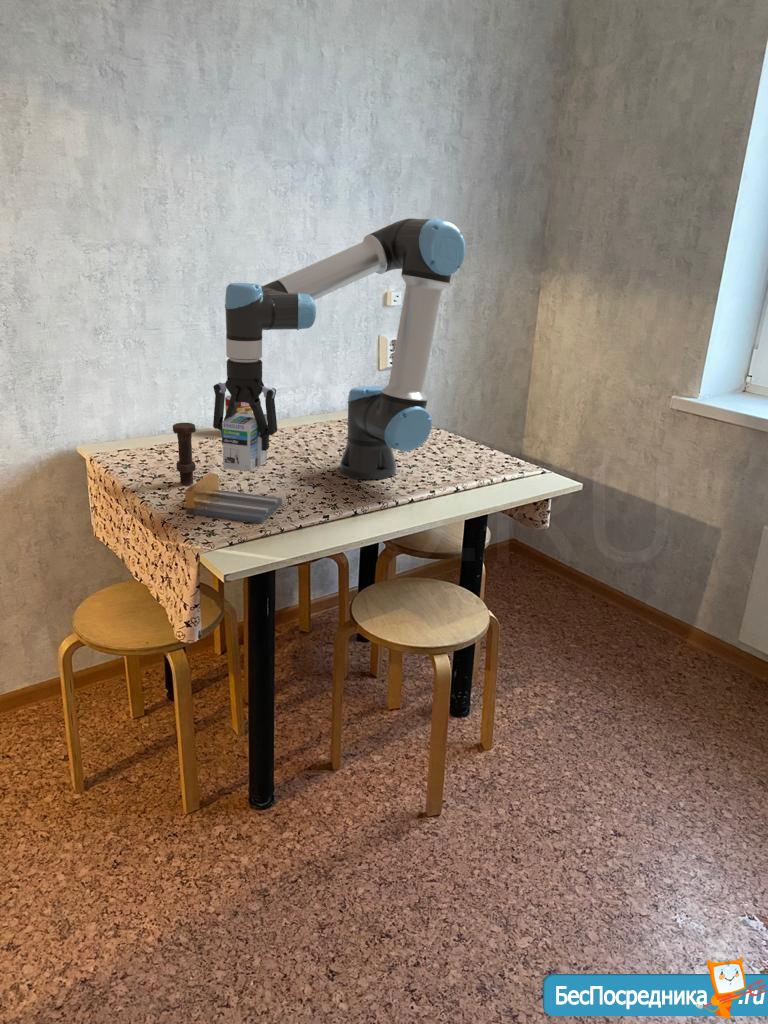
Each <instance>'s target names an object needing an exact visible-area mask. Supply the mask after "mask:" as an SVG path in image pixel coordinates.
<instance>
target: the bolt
mask: <svg viewBox="0 0 768 1024" xmlns="http://www.w3.org/2000/svg"><path fill="white" fill-rule="evenodd" d="M172 431H173V434H175V435H177V436H176V437H177V441H178V442H177V447H178V461H177V462H176V466H175V467H176V471H177V472H178V473H179V480H180V481H179V483H180V484H182V485H184V486H190V485H191V486H192V484H193V483H194V472H195V471H196V469H197V468H196V462H195V461H193V448H192V447H193V446H192V439H193V438H192V437H193V436H192V434H193V433H196V432H197V431H196V425H195V424H194V423H192V422H176V423H174V424H173V425H172Z"/></svg>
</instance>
